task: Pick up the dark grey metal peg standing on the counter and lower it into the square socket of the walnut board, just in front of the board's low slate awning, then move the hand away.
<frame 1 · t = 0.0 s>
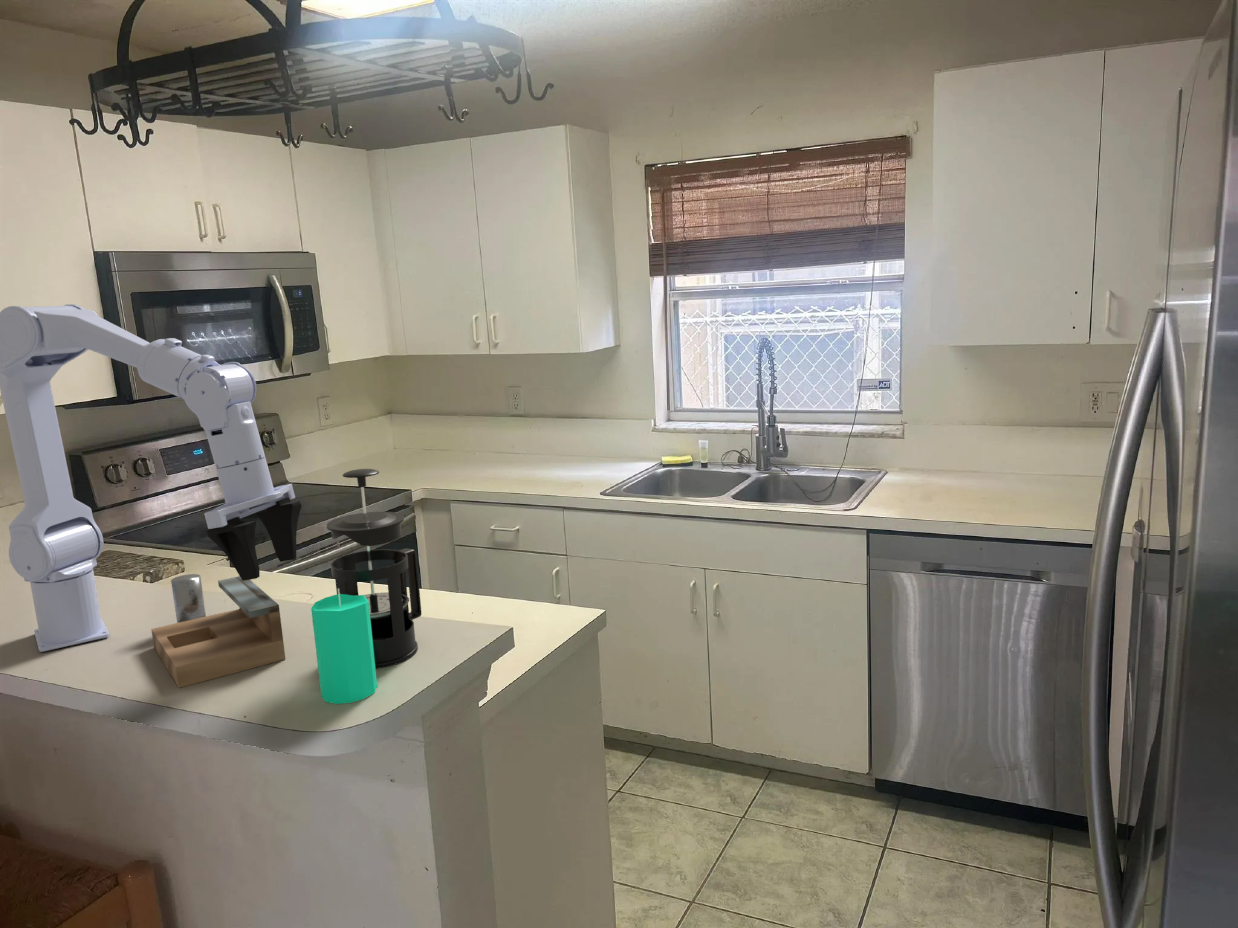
hand: (270, 569, 111), 11 cm above the worktop, tool pointing down, fingers open, 7 cm apart
candle: (349, 693, 100), on the worktop
socket board: (218, 653, 112), on the worktop
french press: (382, 653, 111), on the worktop
peg: (192, 627, 122), on the worktop
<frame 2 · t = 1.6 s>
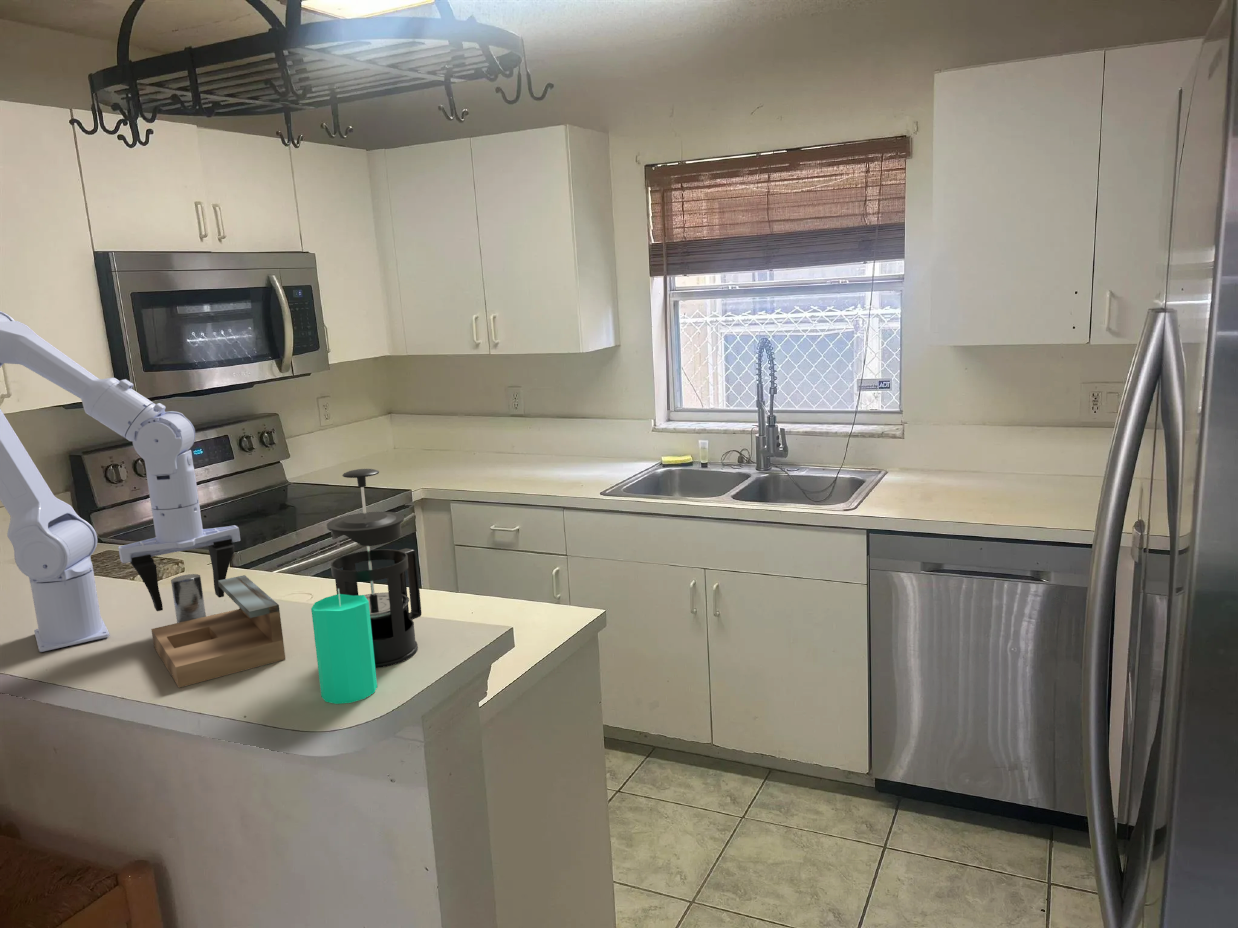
hand: (189, 602, 121), 4 cm above the worktop, tool pointing down, fingers open, 7 cm apart
nothing on the worktop moved.
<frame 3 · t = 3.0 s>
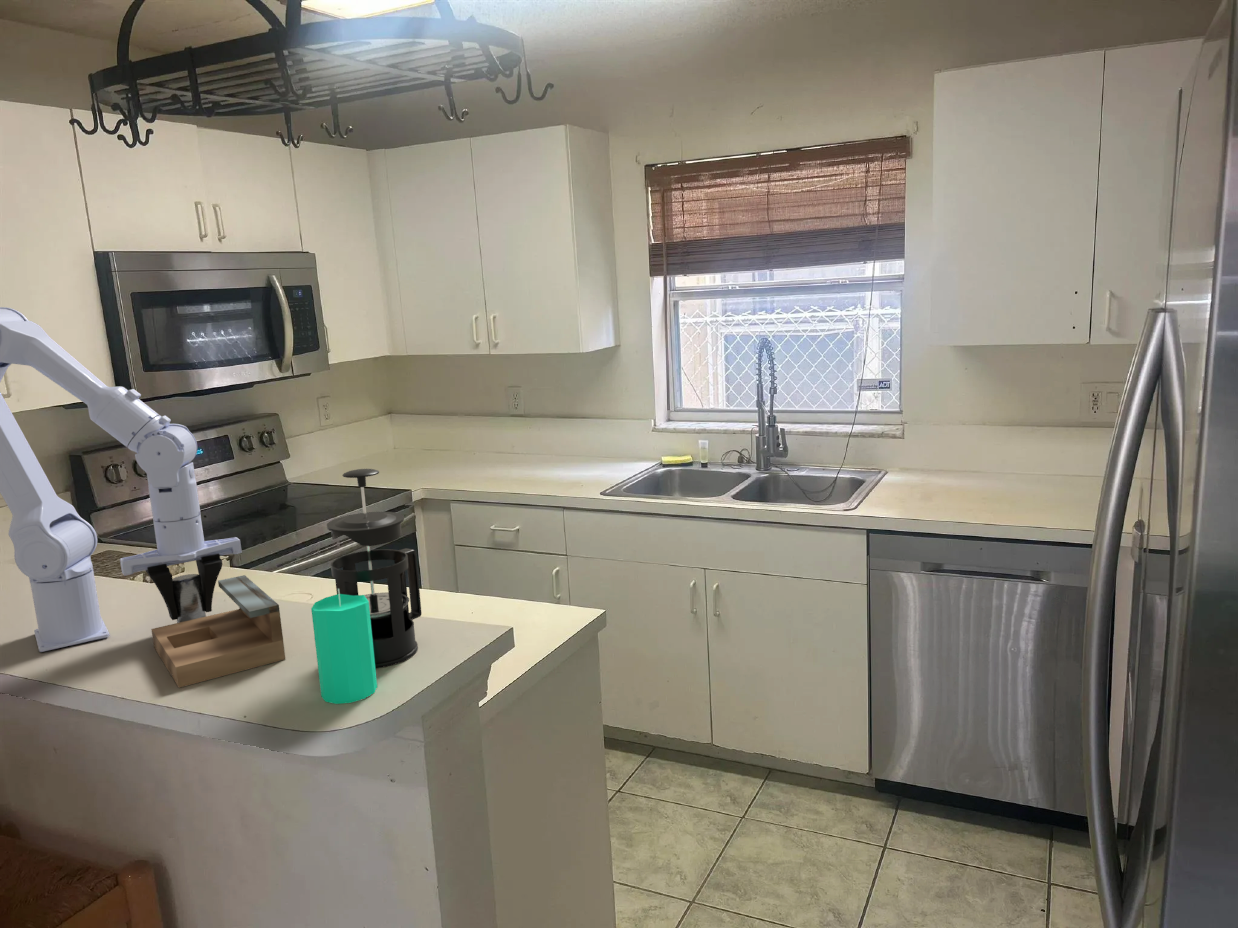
hand: (190, 613, 122), 2 cm above the worktop, tool pointing down, fingers closed on peg, 4 cm apart
peg: (192, 627, 122), on the worktop, touching gripper
everything else where it was.
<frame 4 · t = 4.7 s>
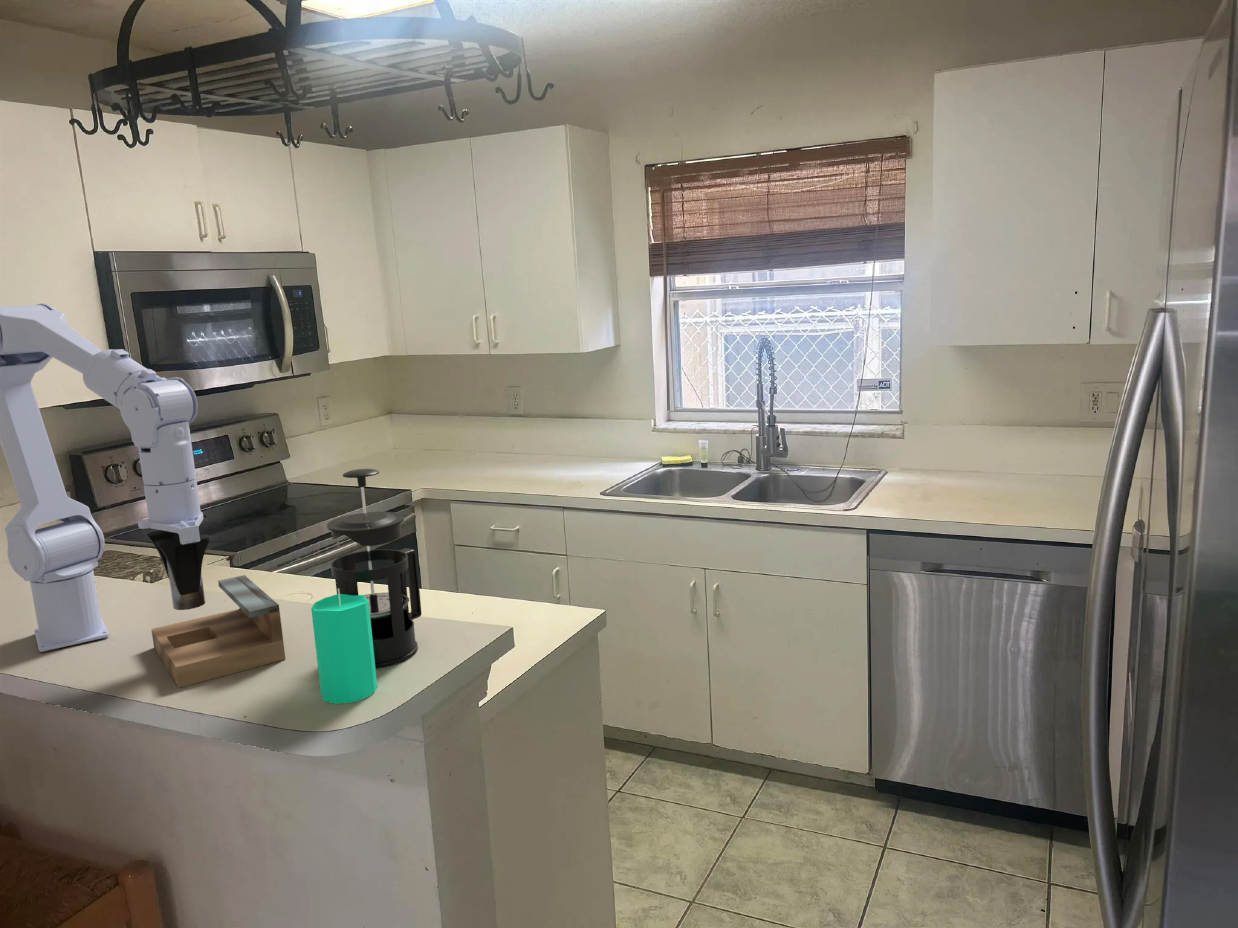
hand: (185, 588, 110), 9 cm above the worktop, tool pointing down, fingers closed on peg, 4 cm apart
peg: (189, 604, 111), point 7 cm above the worktop, touching gripper
everything else where it was.
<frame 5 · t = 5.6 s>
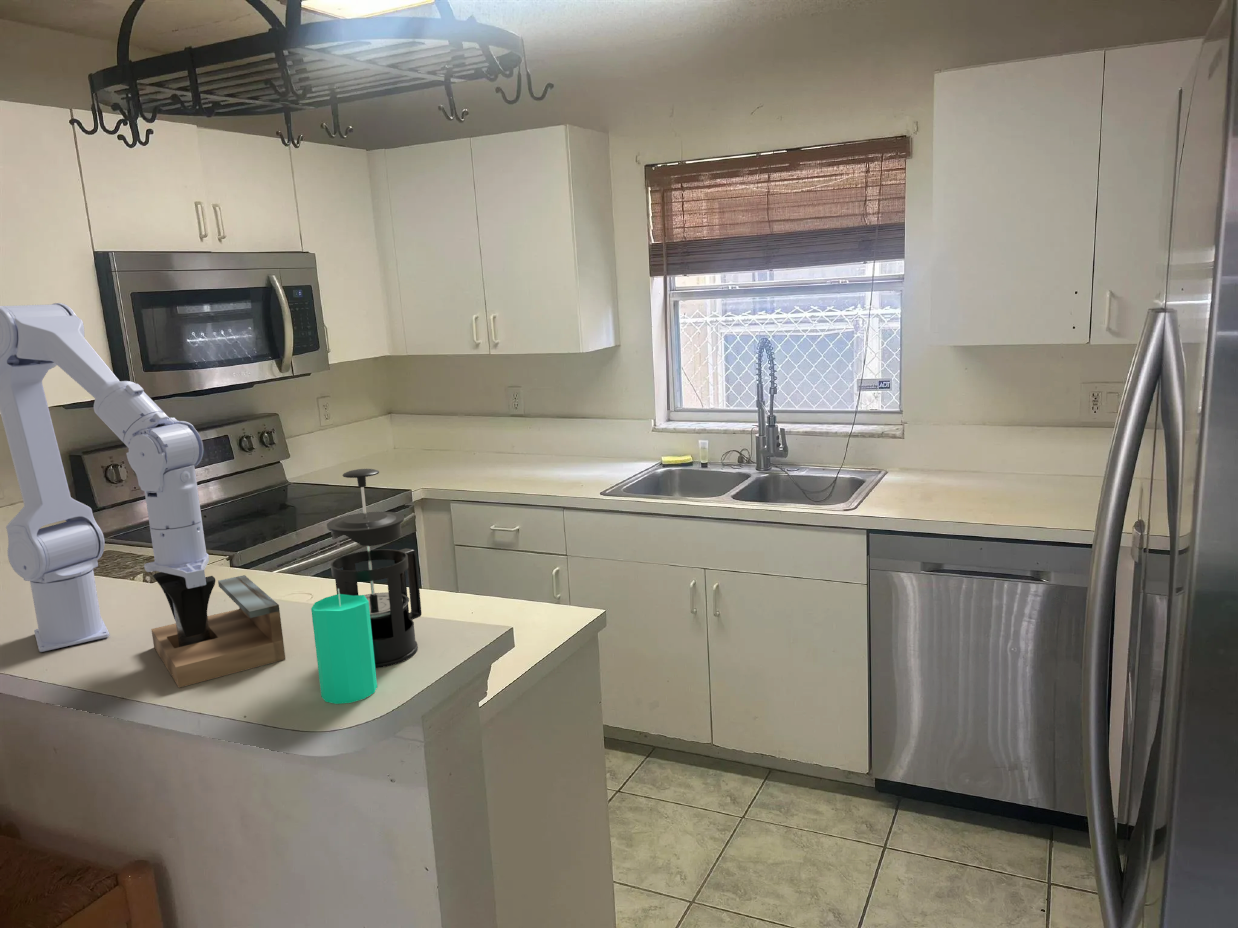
hand: (191, 629, 111), 3 cm above the worktop, tool pointing down, fingers closed on peg, 4 cm apart
peg: (195, 645, 112), point 1 cm above the worktop, touching gripper
everything else where it was.
when the fingers open (3 cm above the worktop, at t = 6.4 s): peg drops 1 cm, resting in socket board.
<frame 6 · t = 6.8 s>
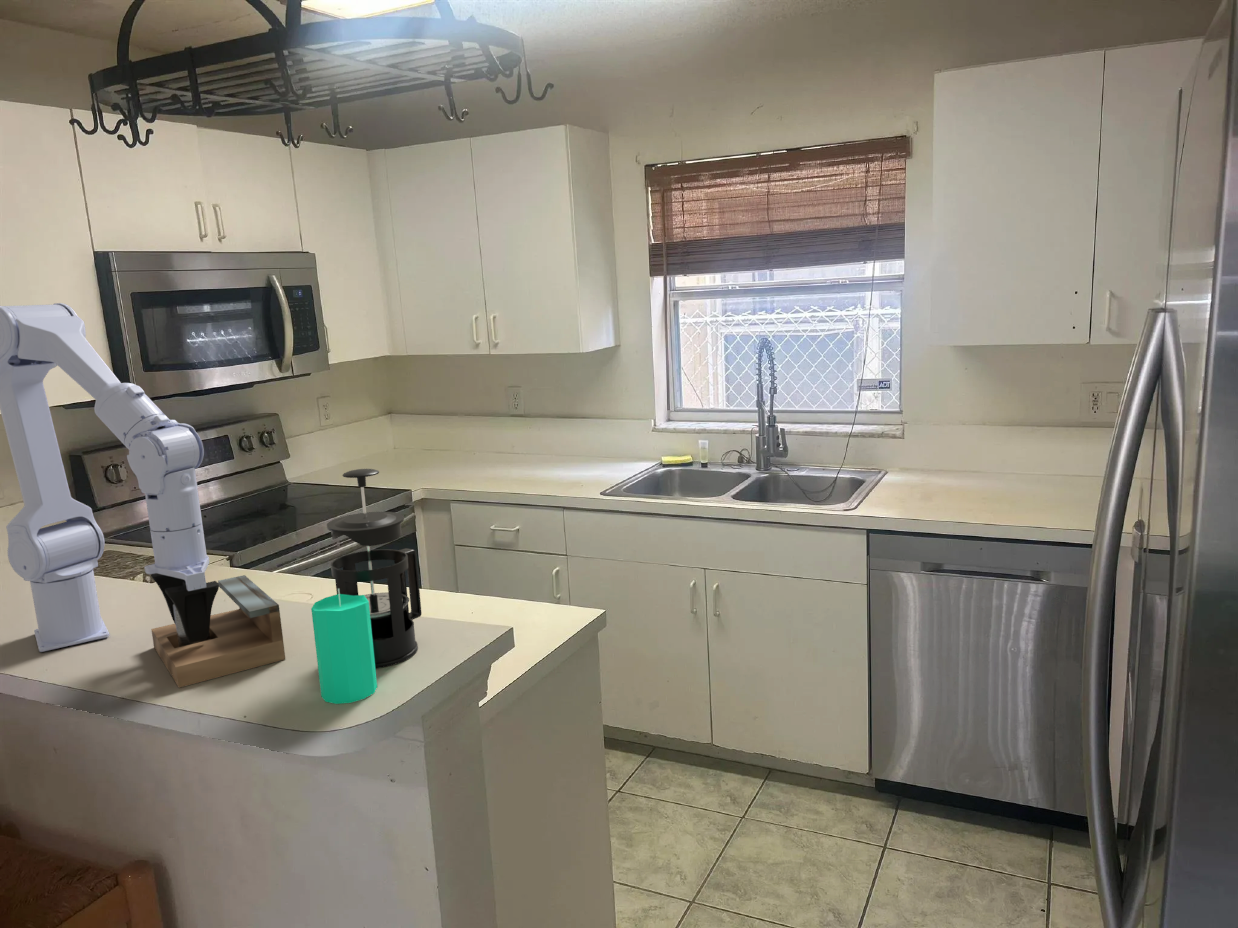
hand: (191, 631, 111), 3 cm above the worktop, tool pointing down, fingers open, 7 cm apart
peg: (196, 655, 112), resting in socket board
everything else where it was.
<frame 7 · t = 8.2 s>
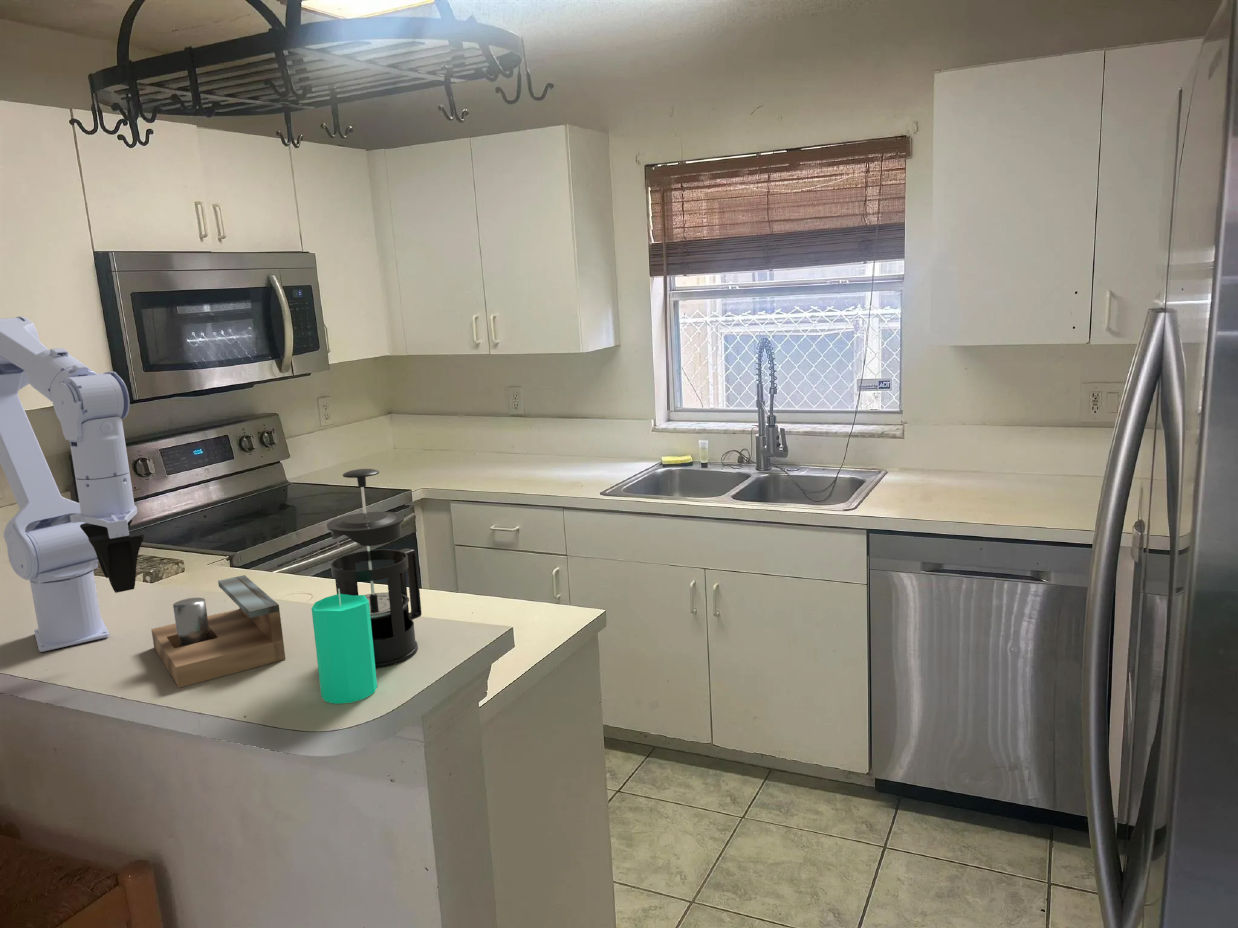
hand: (119, 582, 110), 10 cm above the worktop, tool pointing down, fingers open, 7 cm apart
nothing on the worktop moved.
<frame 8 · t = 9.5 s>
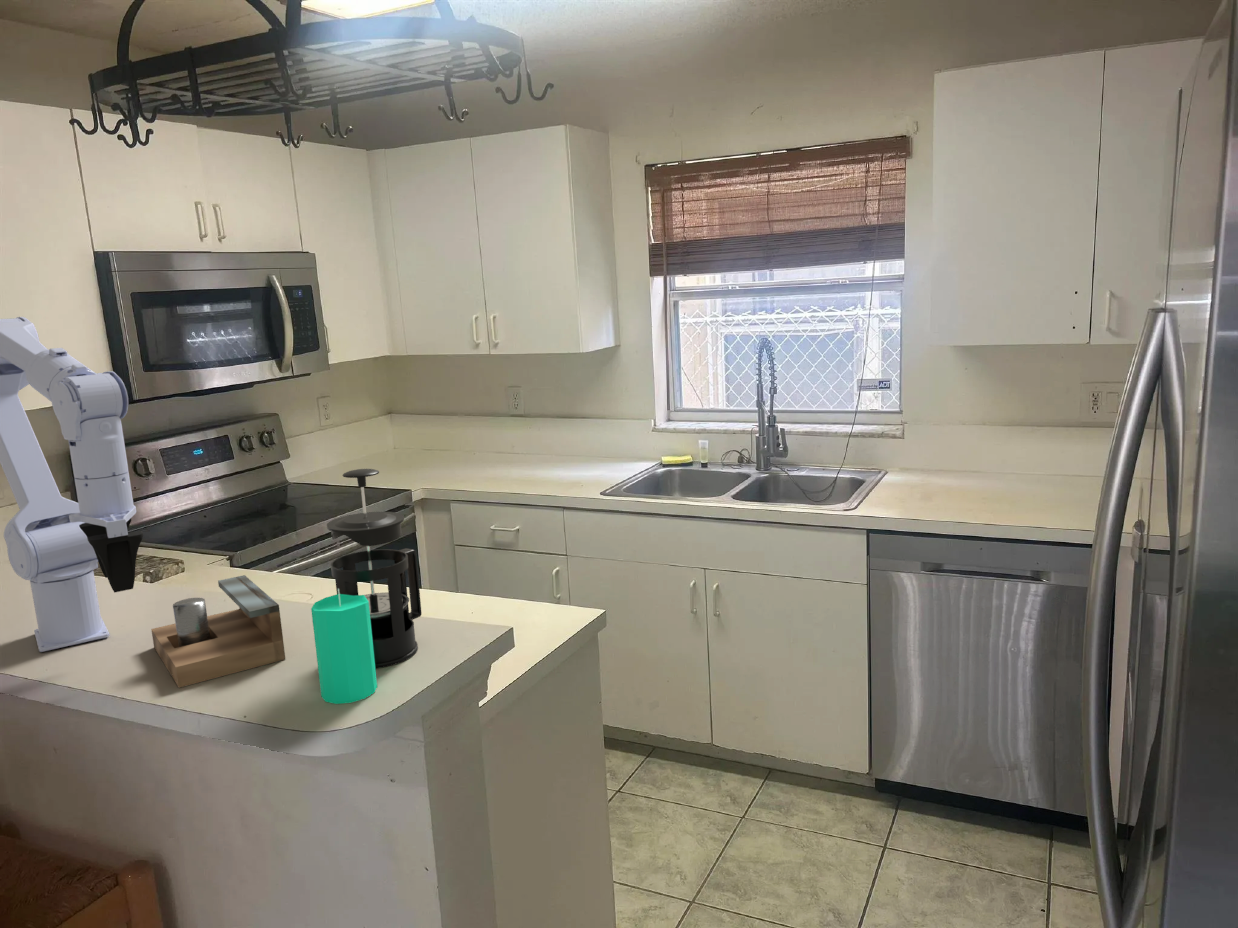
hand: (118, 582, 110), 10 cm above the worktop, tool pointing down, fingers open, 7 cm apart
nothing on the worktop moved.
at the end: peg 0.2 cm from the target spot on the socket board, point 0.0 cm above the socket board's base; peg tilted 0°; the gripper is holding nothing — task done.
